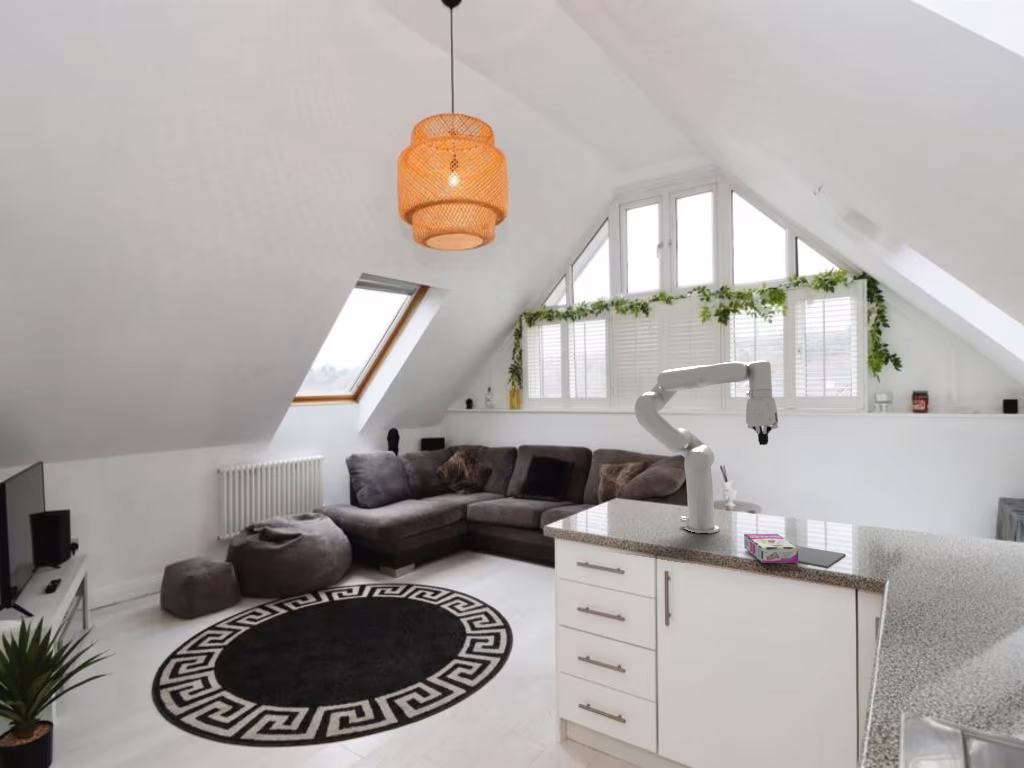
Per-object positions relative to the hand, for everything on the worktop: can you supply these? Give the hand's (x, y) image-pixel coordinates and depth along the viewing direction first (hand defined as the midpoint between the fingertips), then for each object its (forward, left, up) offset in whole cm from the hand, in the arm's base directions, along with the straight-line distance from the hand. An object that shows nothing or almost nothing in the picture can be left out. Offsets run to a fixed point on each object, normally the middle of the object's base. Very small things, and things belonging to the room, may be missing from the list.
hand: (763, 444), depth 206 cm
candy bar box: (+6, -19, -30) cm, 36 cm away
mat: (+19, -18, -33) cm, 42 cm away
